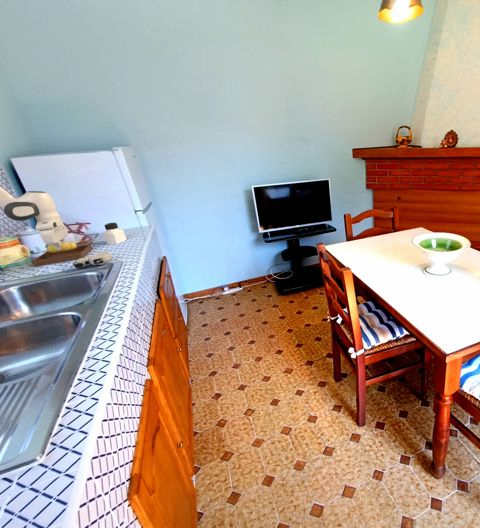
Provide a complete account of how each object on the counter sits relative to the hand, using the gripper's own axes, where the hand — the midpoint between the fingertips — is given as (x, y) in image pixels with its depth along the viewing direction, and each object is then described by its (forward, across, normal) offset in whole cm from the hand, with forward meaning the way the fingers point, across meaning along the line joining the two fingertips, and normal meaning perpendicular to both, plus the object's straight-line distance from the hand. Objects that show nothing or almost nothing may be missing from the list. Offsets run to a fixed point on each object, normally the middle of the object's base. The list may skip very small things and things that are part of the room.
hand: (62, 248), depth 158 cm
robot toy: (+5, +25, +18) cm, 31 cm away
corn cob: (+2, 0, 0) cm, 2 cm away
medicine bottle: (+5, -17, +20) cm, 27 cm away
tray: (+5, 0, 0) cm, 5 cm away
